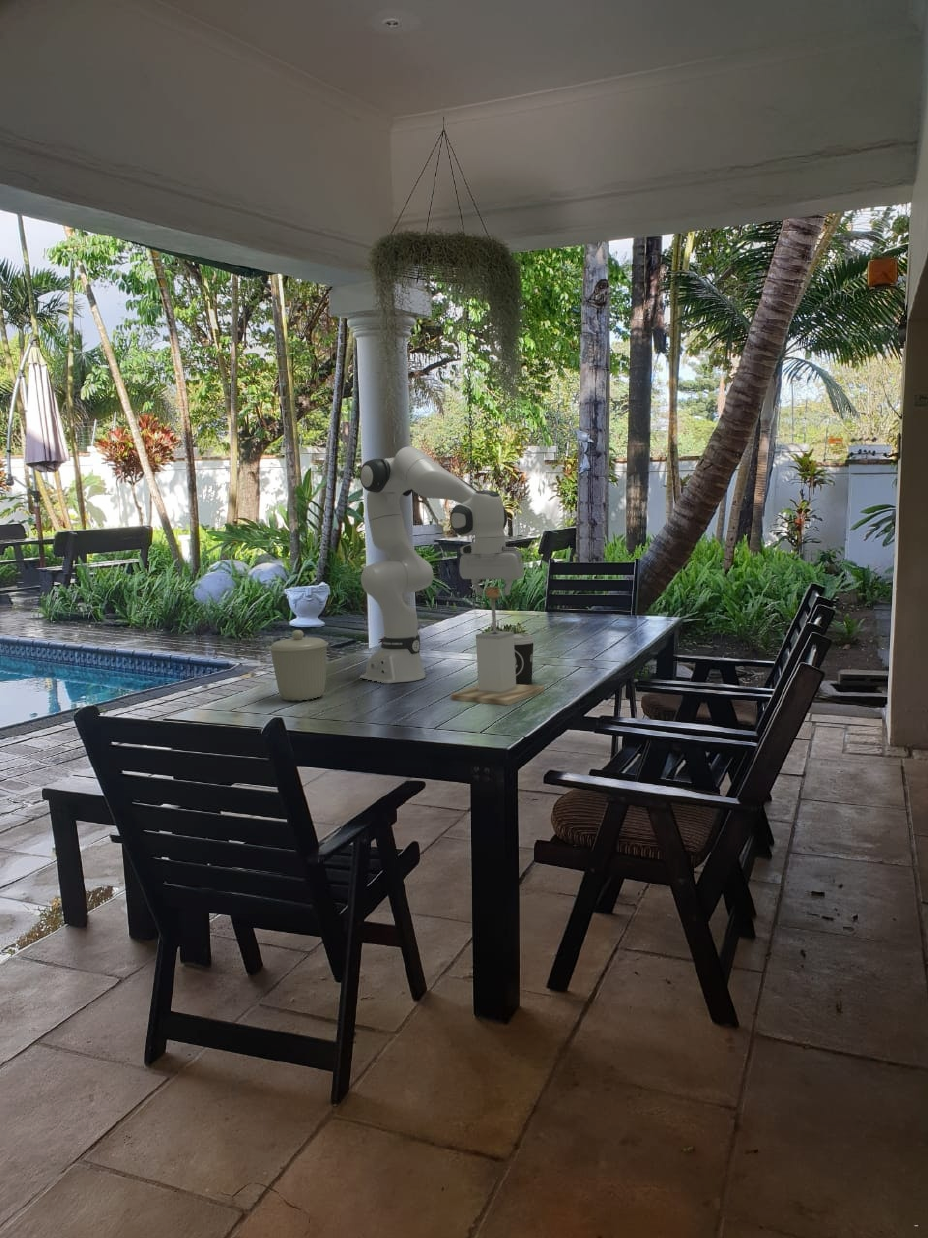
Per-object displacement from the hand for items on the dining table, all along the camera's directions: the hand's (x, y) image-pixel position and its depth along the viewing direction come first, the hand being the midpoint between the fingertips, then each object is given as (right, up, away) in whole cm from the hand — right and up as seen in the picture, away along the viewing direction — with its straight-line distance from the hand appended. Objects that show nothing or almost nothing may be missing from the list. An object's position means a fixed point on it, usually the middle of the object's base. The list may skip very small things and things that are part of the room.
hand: (492, 594), depth 284 cm
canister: (-58, -31, +15) cm, 67 cm away
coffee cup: (+9, -27, +20) cm, 35 cm away
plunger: (+1, -18, +2) cm, 18 cm away
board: (+2, -30, +4) cm, 30 cm away
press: (+2, -28, +5) cm, 28 cm away
